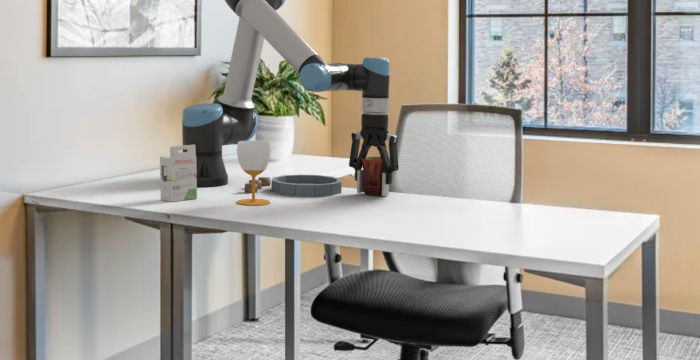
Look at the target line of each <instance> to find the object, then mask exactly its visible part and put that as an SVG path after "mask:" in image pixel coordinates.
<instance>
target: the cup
mask: <svg viewBox="0 0 700 360" xmlns="http://www.w3.org/2000/svg"><path fill="white" fill-rule="evenodd" d="M236 145H237V147H236V154H237V160H238V163H239V166H240V168H241V169H242V171H243V172H245V173H246V174H247V175H249V176H250V177H251V180H252V193H251V198H244V199H237V200H236V202H235V203H236V204H237V205H241V206H255V207H257V206H258V207H259V206H266V205H269V204H271V201H270V200H269V199H262V198H256V193H255V180H256V177H257V176H259V175H260V174H262V173H264V171H266V169H267V168H268V165H269V164H270V160H271V153H272V147H271V142H269V141H265V140H248V141H240V142H238V144H236Z"/></svg>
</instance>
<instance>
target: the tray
mask: <svg viewBox="0 0 700 360" xmlns="http://www.w3.org/2000/svg"><path fill="white" fill-rule="evenodd" d="M342 183H343V179H342V178H339V177H335V176H330V175H322V174H321V175H320V174H287V175H285V174H284V175H278V176H273V177H272V179H271V186H270V187H271V190H270V191H271V192H273V193H276V194H278V195H285V196H292V197H311V198H312V197H313V198H314V197H315V196H316V197H326V196H327V195H330V196H335V195H339V194H342V191H343V190H342V188H343V186H342ZM338 193H339V194H338ZM334 194H335V195H334ZM327 197H328V196H327Z"/></svg>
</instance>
